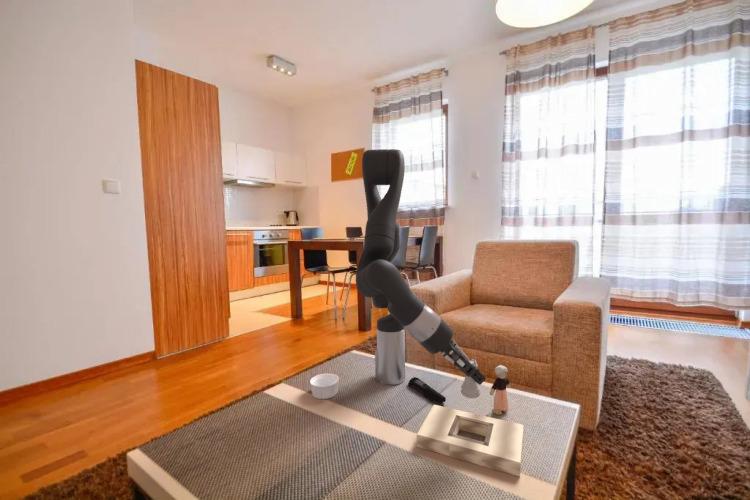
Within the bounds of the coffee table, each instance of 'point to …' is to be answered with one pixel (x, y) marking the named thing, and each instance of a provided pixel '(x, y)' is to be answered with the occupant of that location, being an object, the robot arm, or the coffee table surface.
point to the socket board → (494, 453)
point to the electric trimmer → (426, 390)
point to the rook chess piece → (470, 385)
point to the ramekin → (324, 386)
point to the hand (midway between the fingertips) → (479, 377)
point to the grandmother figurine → (500, 390)
